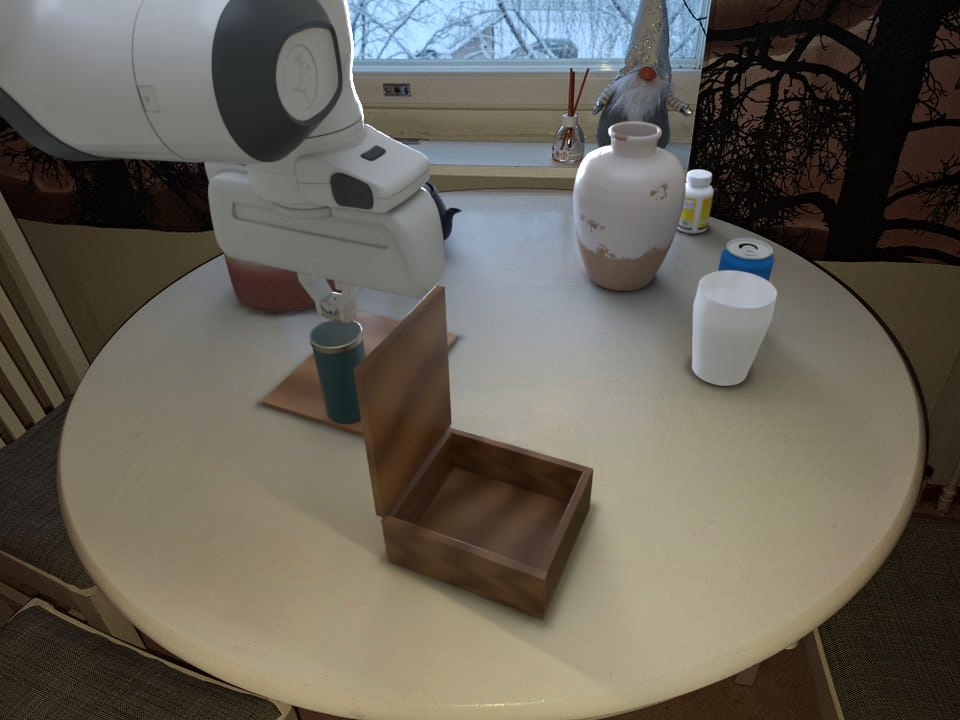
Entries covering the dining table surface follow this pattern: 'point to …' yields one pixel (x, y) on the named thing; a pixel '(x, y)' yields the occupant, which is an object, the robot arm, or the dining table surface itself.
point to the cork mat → (304, 385)
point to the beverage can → (748, 257)
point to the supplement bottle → (696, 202)
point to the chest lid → (405, 398)
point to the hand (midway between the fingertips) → (338, 316)
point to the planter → (269, 287)
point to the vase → (627, 206)
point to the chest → (490, 519)
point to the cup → (729, 324)
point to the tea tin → (338, 367)
